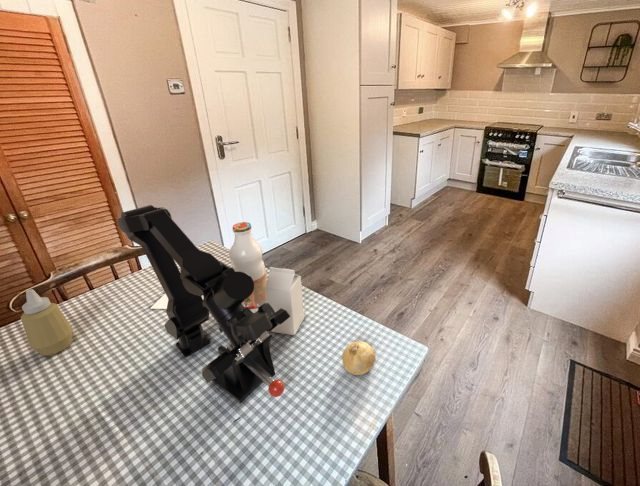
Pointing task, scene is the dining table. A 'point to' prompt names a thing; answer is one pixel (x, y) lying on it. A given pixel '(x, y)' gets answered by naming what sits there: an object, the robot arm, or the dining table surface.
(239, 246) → the fruit juice
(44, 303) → the squeeze bottle
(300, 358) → the dining table surface
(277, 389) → the lever
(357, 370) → the onion
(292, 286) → the milk carton
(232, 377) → the bracket
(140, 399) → the dining table surface
